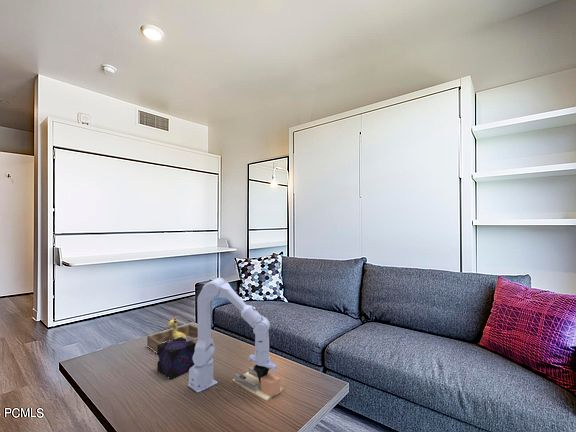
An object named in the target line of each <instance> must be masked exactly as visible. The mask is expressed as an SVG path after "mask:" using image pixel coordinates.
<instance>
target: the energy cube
mask: <svg viewBox="0 0 576 432" xmlns="http://www.w3.org/2000/svg"><path fill="white" fill-rule="evenodd" d="M194 352H195V343H194V342H192V341H189V342H188V341H186V339H185V338H183V337H180V338H177V339H174V340H173V341H172V342H169V343H167V342H165V343H162V344H159V345H157V353H156V354H157V356H158V361H156V362H157V364H156V365H157V367H156V368H157V370H158V371H159V372H161V373H164V374H163V375H165V377H166V376H167V377H169V378H170V379H172V380H174V379H173V378H175V379H177V378H179V377H181V376H180V375H182V374H185V373H186V372H188V373H189V369H190V368H191V367H192V366H194V365H195V364H194V362H193V354H194ZM157 370H156V371H157ZM158 371H157V372H158ZM159 372H158V373H159ZM161 373H160V374H161ZM178 376H179V377H178ZM167 377H166V378H167ZM176 377H177V378H176ZM169 378H168V379H169ZM170 379H169V380H170Z"/></svg>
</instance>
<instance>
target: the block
mask: <svg viewBox="0 0 576 432" xmlns="http://www.w3.org/2000/svg"><path fill="white" fill-rule="evenodd" d="M280 386H281V377H278V376H276V375H274V374H273V373H269V372H268V374H267V375H265V376H263V377H262V378H261V391H262V392H264V393H266V394H268V395H269V396H271V397H272V396H273V395H275V394H276V393H278V392H280ZM280 393H281V392H280ZM278 394H279V393H278ZM275 396H276V395H275ZM272 398H273V397H272Z"/></svg>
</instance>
